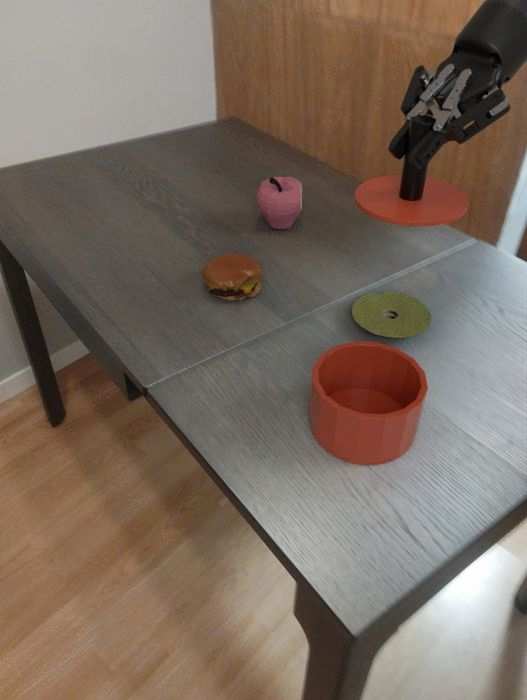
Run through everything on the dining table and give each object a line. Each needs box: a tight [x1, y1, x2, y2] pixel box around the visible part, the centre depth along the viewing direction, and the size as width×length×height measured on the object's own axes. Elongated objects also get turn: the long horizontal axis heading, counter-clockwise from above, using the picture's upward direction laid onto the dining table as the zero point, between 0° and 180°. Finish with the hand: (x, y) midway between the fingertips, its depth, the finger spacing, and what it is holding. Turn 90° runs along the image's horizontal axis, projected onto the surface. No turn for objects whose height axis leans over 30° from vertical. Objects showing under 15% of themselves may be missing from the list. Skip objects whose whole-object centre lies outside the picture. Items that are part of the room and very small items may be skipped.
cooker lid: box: [354, 114, 469, 227], centre depth 62 cm, size 13×13×10 cm
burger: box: [201, 253, 263, 302], centre depth 85 cm, size 10×9×5 cm
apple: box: [255, 176, 303, 230], centre depth 99 cm, size 10×9×10 cm
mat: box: [351, 291, 432, 339], centre depth 78 cm, size 11×11×2 cm
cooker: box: [309, 340, 429, 466], centre depth 61 cm, size 12×12×8 cm
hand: (403, 159), depth 61 cm, fingers closed on cooker lid, 3 cm apart
